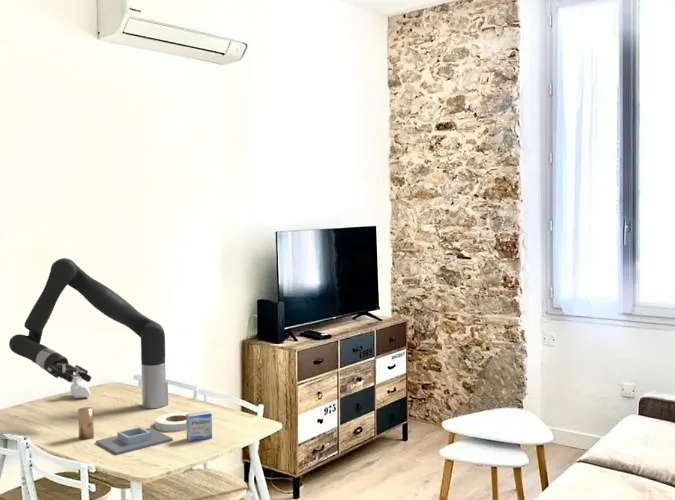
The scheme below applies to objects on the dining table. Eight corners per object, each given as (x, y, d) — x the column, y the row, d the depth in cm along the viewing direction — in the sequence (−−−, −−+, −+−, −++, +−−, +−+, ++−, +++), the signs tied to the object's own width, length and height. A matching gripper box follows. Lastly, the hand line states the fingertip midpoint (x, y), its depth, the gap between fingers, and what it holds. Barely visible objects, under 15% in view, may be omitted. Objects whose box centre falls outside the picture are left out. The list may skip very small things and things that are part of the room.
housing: (150, 430, 249) (150, 420, 249) (172, 440, 238) (172, 431, 237) (96, 442, 236) (95, 433, 236) (116, 454, 224) (116, 444, 224)
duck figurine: (72, 400, 299) (55, 382, 293) (85, 386, 303) (69, 369, 297) (86, 405, 291) (69, 387, 285) (99, 391, 295) (83, 373, 289)
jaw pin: (90, 434, 245) (89, 406, 245) (96, 437, 242) (95, 409, 241) (76, 437, 242) (75, 409, 242) (82, 440, 239) (81, 411, 238)
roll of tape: (170, 417, 265) (170, 410, 265) (206, 421, 260) (206, 413, 260) (146, 430, 251) (146, 422, 251) (183, 434, 246) (183, 426, 245)
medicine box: (189, 442, 236) (189, 416, 236) (186, 438, 240) (185, 413, 240) (212, 438, 240) (212, 413, 239) (208, 434, 244) (208, 410, 243)
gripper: (39, 351, 252) (69, 369, 244) (70, 352, 264) (99, 369, 257) (32, 371, 252) (61, 389, 244) (63, 371, 264) (92, 388, 257)
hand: (81, 379), depth 251 cm, fingers open, 8 cm apart
